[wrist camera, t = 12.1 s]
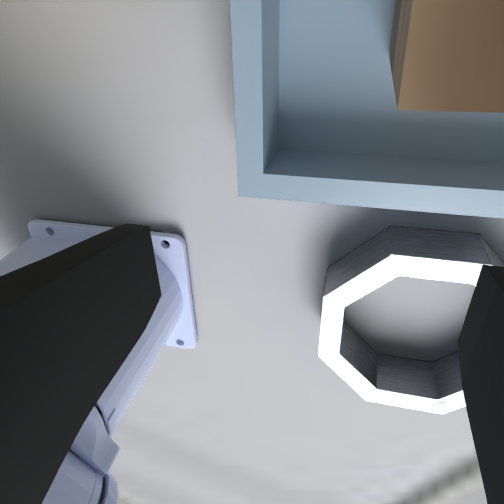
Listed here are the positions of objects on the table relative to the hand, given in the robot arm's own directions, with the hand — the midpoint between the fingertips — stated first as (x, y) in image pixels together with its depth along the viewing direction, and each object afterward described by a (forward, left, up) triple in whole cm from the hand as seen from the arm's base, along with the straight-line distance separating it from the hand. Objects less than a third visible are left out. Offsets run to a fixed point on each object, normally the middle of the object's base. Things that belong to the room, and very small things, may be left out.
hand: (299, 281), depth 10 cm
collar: (+5, -8, -10) cm, 14 cm away
